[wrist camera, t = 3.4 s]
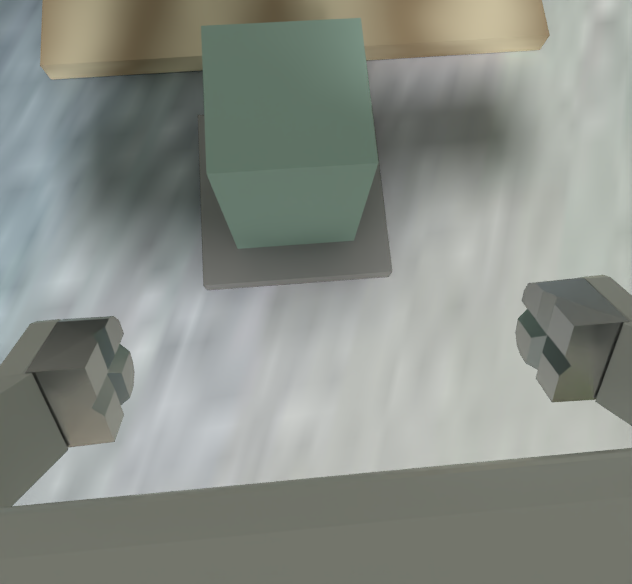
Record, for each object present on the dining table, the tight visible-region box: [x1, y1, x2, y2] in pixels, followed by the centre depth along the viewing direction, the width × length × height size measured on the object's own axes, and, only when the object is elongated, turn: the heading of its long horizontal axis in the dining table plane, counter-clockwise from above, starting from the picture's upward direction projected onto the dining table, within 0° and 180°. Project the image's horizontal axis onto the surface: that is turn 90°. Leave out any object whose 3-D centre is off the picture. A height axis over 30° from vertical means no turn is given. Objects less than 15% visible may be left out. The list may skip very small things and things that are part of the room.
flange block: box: [198, 18, 392, 290], centre depth 19 cm, size 8×8×8 cm
